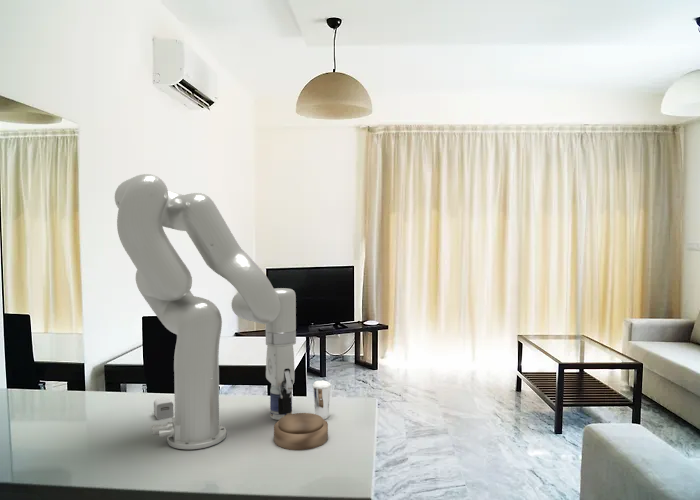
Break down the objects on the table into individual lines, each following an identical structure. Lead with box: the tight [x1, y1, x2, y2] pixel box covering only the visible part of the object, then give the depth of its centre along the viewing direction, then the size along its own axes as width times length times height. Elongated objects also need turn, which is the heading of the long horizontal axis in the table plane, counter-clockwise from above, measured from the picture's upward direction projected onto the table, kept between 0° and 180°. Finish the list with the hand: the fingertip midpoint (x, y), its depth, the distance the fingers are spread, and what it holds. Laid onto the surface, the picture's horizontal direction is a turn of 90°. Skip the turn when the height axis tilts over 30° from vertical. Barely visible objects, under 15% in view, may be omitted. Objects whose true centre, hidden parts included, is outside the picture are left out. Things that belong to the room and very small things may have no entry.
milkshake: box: [312, 377, 335, 420], centre depth 121 cm, size 5×5×10 cm
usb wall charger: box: [153, 397, 174, 421], centre depth 124 cm, size 4×7×4 cm, turn 30°
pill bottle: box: [269, 382, 293, 421], centre depth 122 cm, size 5×5×10 cm
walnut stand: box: [273, 412, 329, 451], centre depth 108 cm, size 12×12×4 cm
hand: (281, 408), depth 122 cm, fingers closed on pill bottle, 5 cm apart
